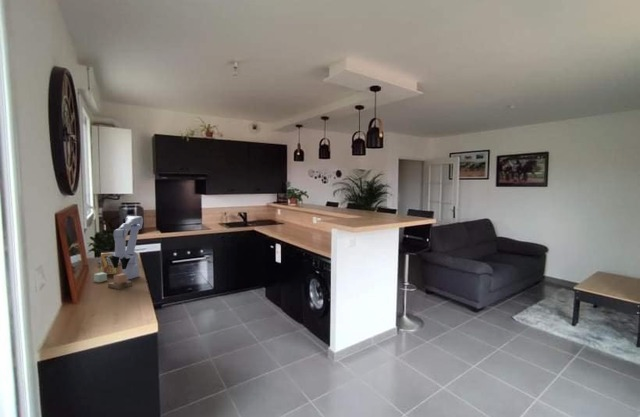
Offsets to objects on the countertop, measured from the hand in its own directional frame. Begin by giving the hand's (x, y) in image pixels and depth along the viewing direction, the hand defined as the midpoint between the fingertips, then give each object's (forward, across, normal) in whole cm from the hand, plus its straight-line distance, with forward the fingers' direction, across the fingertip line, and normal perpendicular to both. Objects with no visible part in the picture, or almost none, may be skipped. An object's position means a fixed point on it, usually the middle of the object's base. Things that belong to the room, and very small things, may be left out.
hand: (119, 268), depth 194 cm
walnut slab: (+11, +4, -2) cm, 12 cm away
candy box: (+10, -28, +12) cm, 33 cm away
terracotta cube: (+8, +4, -2) cm, 9 cm away
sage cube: (+10, -17, 0) cm, 20 cm away
